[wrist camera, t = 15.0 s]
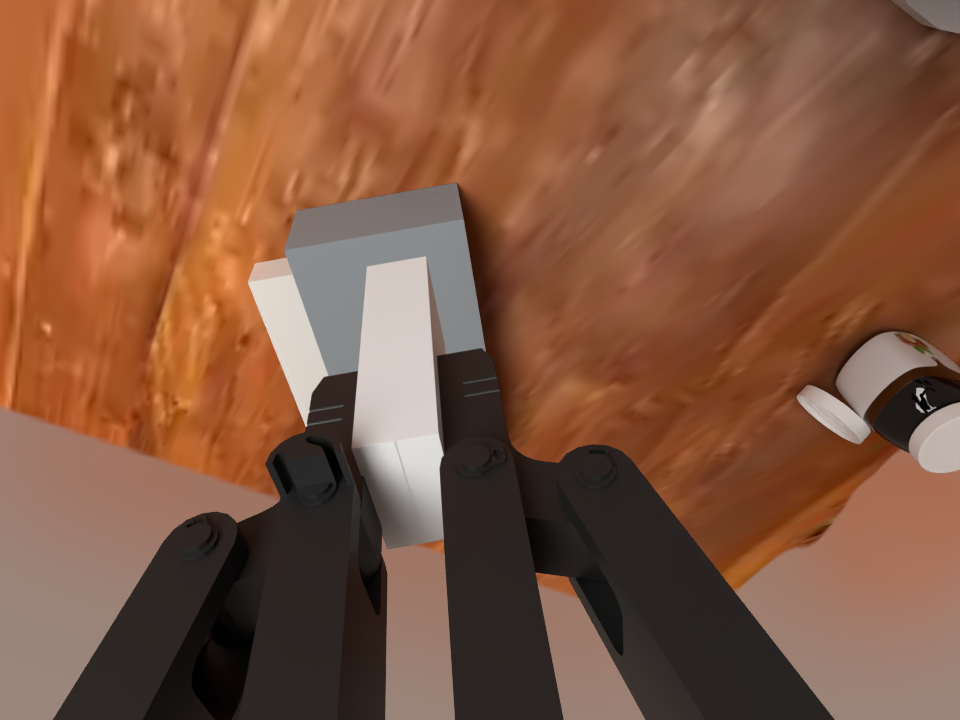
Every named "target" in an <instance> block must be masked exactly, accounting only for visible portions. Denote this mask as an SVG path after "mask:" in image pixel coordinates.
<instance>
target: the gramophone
mask: <svg viewBox="0 0 960 720" xmlns="http://www.w3.org/2000/svg"><path fill="white" fill-rule="evenodd" d="M891 1H892V2H894V3H895V4H896V5H897V6H899V7H900V8H901V9H902V10H904V11H905V12H906V13H907V14H909V15H910V16H911V17H912V18H914V19H915V20H916V21H917V22H919V23H920V24H922V25H925V26H929V27H933V28H936V29H940V30H945V31H949V32H954V33H959V34H960V0H891Z"/></svg>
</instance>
